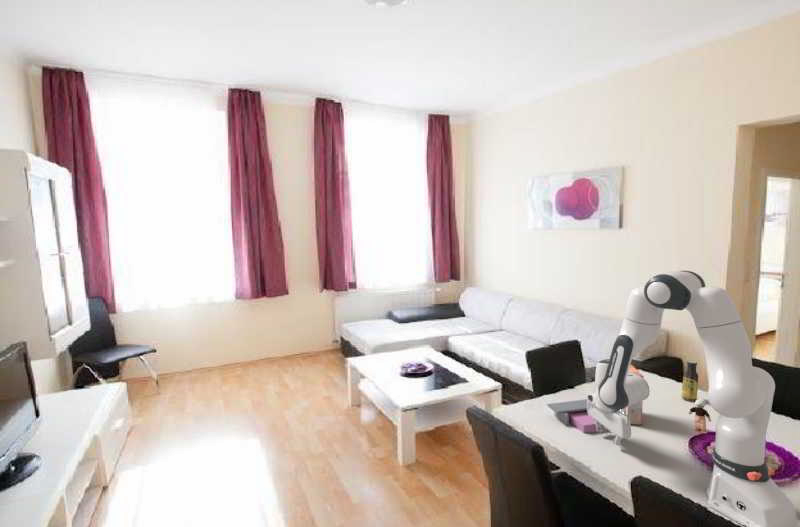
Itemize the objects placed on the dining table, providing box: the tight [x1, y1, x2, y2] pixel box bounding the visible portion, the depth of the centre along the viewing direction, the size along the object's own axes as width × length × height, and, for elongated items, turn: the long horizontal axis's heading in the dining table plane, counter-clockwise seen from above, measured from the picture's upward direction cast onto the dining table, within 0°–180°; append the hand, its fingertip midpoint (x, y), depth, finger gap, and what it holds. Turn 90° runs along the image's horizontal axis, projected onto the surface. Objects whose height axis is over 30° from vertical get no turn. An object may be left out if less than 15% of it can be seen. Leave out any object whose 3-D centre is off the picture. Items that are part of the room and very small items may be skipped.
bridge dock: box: [546, 398, 588, 426], centre depth 175 cm, size 10×20×5 cm, turn 101°
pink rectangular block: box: [566, 410, 605, 434], centre depth 171 cm, size 15×9×4 cm, turn 11°
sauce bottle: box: [681, 360, 699, 403], centre depth 189 cm, size 6×6×18 cm
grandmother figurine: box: [688, 398, 712, 434], centre depth 162 cm, size 8×4×13 cm, turn 41°
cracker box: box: [622, 363, 645, 426], centre depth 174 cm, size 14×6×21 cm, turn 168°
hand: (608, 437), depth 156 cm, fingers open, 8 cm apart
